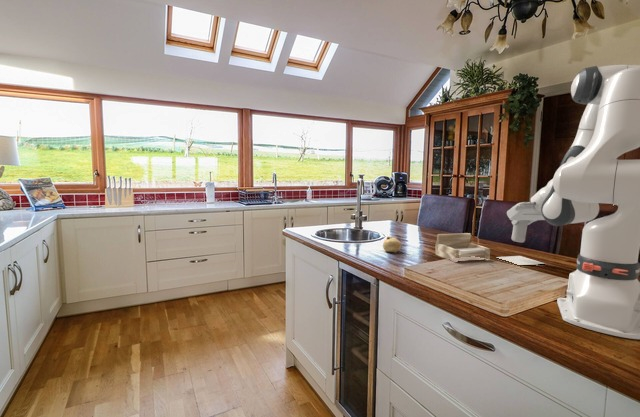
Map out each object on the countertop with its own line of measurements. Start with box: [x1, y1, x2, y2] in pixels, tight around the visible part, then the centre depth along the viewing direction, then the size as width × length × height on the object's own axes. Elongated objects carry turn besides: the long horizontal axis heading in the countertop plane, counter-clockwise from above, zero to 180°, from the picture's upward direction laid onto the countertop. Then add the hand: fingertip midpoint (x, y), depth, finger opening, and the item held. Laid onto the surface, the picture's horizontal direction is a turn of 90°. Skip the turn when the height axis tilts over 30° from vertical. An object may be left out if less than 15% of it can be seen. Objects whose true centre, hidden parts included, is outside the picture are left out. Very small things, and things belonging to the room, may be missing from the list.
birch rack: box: [434, 232, 491, 260], centre depth 139 cm, size 14×16×9 cm
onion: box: [382, 236, 402, 254], centre depth 147 cm, size 8×8×7 cm
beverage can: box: [510, 220, 529, 243], centre depth 133 cm, size 5×5×12 cm
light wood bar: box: [457, 248, 485, 258], centre depth 134 cm, size 4×12×4 cm, turn 104°
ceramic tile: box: [496, 255, 546, 266], centre depth 134 cm, size 12×12×1 cm
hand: (519, 223), depth 134 cm, fingers closed on beverage can, 5 cm apart
